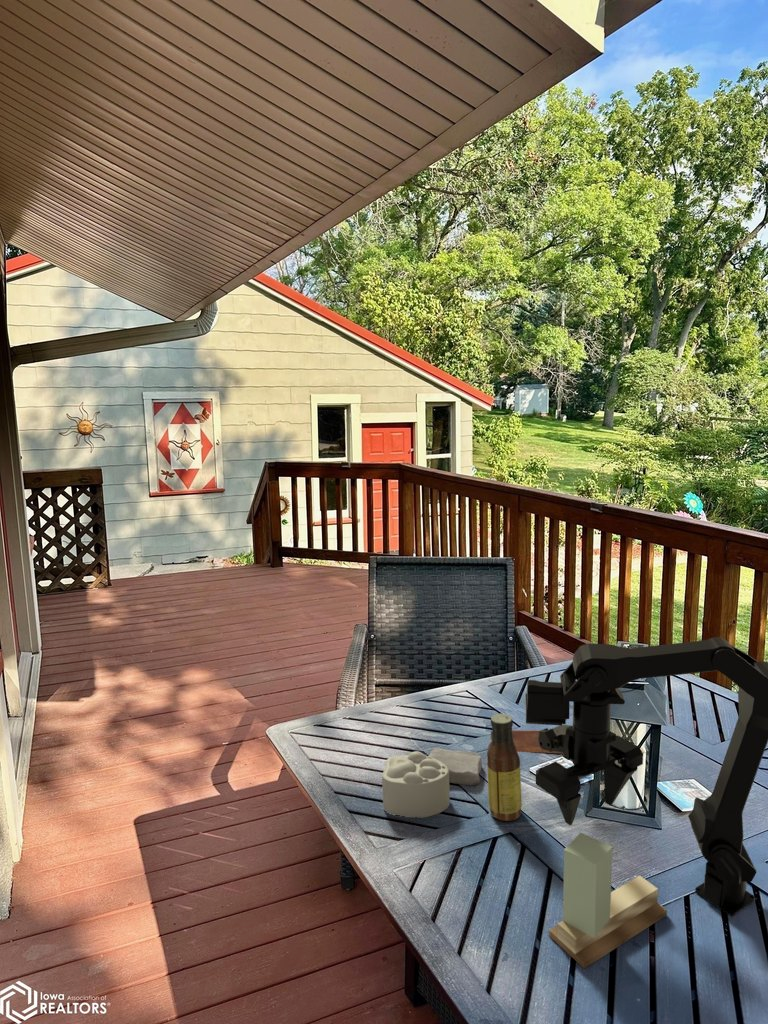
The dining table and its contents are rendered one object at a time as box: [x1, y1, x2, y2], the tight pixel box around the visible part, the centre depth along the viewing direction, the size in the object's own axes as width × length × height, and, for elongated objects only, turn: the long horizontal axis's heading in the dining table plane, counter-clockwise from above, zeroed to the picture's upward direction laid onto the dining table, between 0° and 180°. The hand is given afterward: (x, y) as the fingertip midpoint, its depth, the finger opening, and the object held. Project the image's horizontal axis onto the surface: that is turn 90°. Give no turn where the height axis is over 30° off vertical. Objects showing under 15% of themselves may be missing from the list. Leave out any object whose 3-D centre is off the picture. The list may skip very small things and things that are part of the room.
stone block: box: [428, 747, 483, 786], centre depth 148 cm, size 12×5×10 cm
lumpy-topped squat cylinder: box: [381, 750, 450, 819], centre depth 138 cm, size 10×13×9 cm
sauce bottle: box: [486, 713, 523, 822], centre depth 132 cm, size 6×6×20 cm
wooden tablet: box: [490, 729, 563, 755], centre depth 159 cm, size 26×2×10 cm
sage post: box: [562, 832, 613, 938], centre depth 102 cm, size 5×5×12 cm
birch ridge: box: [548, 875, 668, 969], centre depth 106 cm, size 18×7×4 cm, turn 121°
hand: (589, 813), depth 112 cm, fingers open, 9 cm apart
